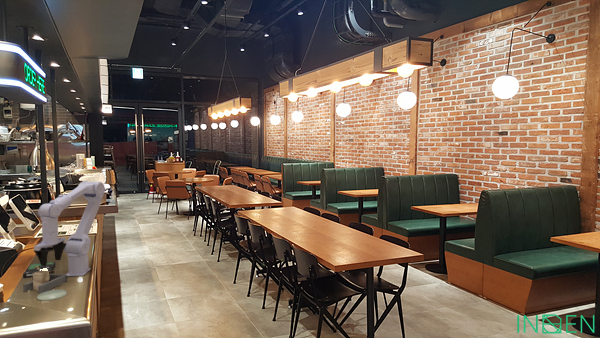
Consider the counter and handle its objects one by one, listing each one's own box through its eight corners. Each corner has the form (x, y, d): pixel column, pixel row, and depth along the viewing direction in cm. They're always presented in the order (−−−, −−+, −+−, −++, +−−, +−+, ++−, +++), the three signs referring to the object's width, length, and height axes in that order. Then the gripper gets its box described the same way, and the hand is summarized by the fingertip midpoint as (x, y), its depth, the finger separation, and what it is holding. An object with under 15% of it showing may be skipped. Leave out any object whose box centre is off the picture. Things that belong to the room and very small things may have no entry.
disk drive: (49, 277, 179) (55, 266, 192) (49, 271, 178) (55, 261, 192) (22, 279, 175) (30, 269, 188) (22, 273, 174) (30, 263, 188)
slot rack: (50, 279, 173) (50, 273, 173) (67, 281, 172) (66, 274, 171) (23, 291, 160) (23, 284, 160) (41, 293, 158) (40, 286, 158)
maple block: (41, 286, 166) (40, 270, 165) (49, 287, 165) (48, 271, 164) (33, 289, 162) (32, 273, 161) (41, 290, 161) (41, 274, 161)
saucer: (44, 291, 160) (44, 290, 160) (70, 290, 162) (70, 288, 162) (32, 301, 150) (31, 299, 150) (60, 300, 152) (59, 298, 152)
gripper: (55, 227, 175) (56, 257, 176) (27, 234, 160) (28, 267, 161) (69, 228, 173) (70, 258, 174) (42, 235, 159) (43, 268, 160)
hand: (51, 262), depth 168 cm, fingers open, 7 cm apart
